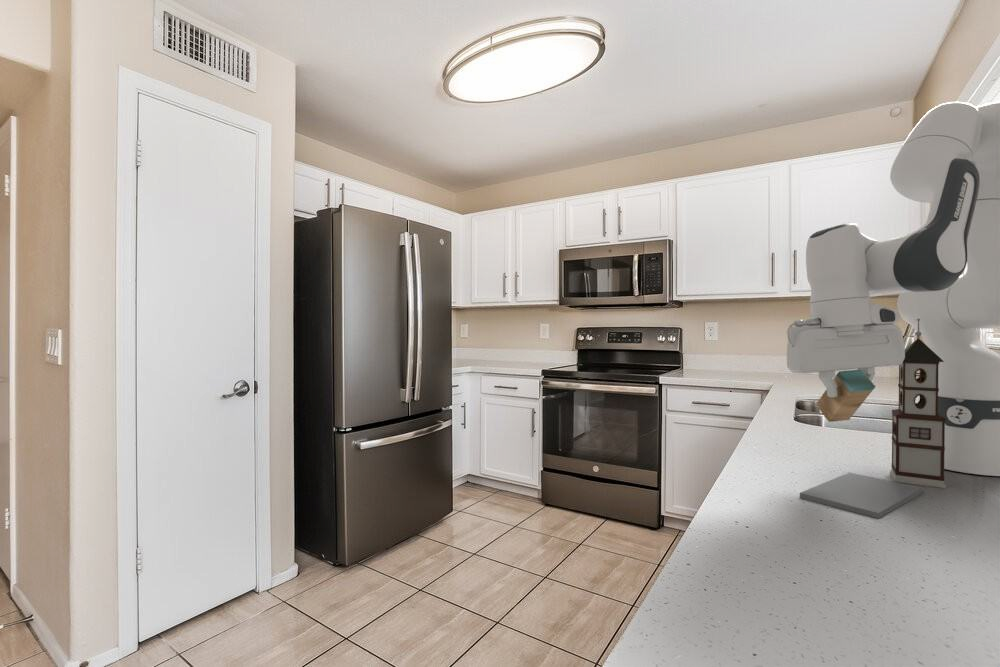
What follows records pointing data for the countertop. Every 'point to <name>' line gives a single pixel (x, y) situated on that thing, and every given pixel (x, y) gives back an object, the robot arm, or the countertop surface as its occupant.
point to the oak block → (846, 395)
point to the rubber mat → (862, 494)
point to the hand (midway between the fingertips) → (849, 395)
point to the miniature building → (918, 420)
